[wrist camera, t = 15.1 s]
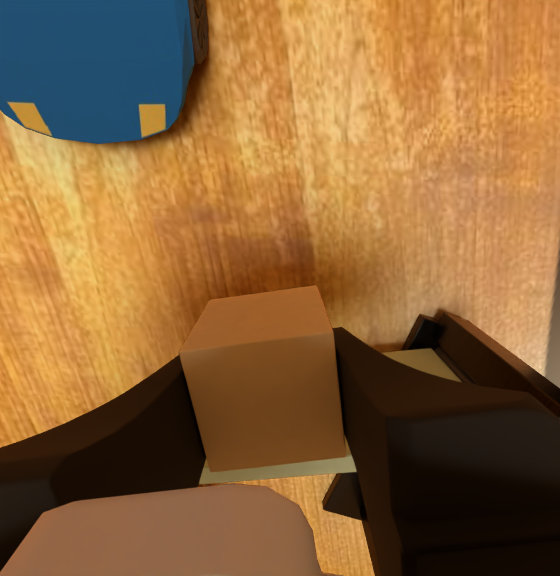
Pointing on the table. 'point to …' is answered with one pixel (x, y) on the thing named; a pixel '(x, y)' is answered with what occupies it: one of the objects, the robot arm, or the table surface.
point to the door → (417, 359)
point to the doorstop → (265, 380)
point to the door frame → (484, 372)
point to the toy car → (99, 65)
